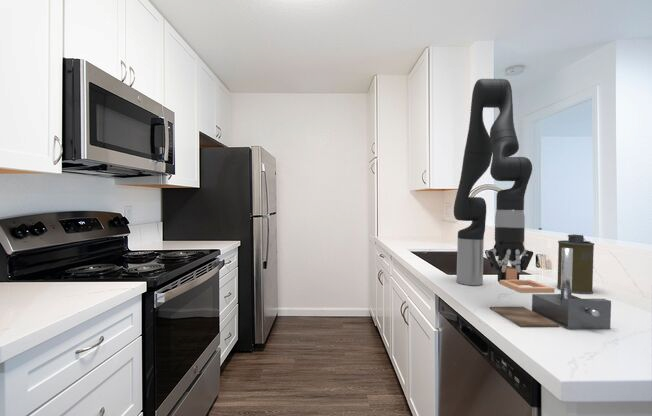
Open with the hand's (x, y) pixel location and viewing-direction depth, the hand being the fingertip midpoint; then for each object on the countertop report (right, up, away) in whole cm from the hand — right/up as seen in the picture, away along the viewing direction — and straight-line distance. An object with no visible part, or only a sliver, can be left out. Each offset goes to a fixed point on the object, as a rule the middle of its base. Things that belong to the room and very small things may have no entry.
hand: (508, 284), depth 94 cm
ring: (0, +1, -5) cm, 5 cm away
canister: (+37, -8, +23) cm, 44 cm away
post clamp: (+12, -8, -9) cm, 17 cm away
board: (0, -7, -6) cm, 10 cm away
